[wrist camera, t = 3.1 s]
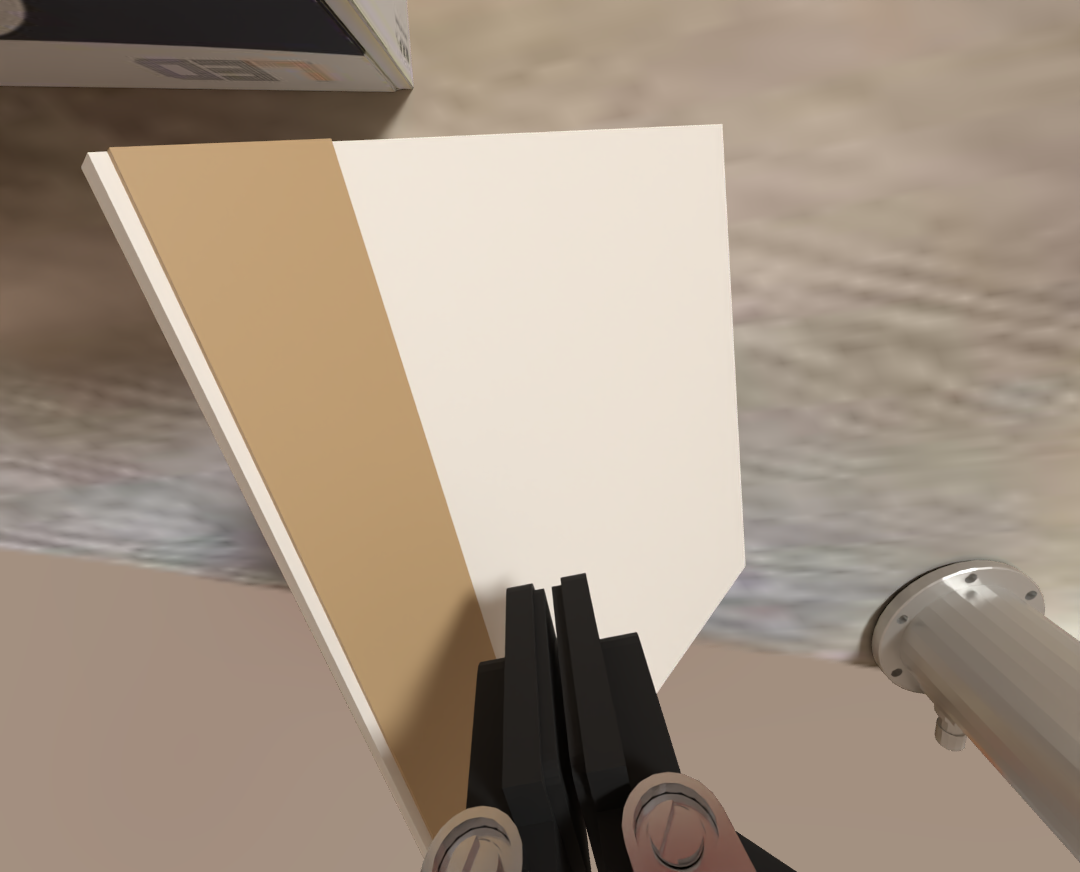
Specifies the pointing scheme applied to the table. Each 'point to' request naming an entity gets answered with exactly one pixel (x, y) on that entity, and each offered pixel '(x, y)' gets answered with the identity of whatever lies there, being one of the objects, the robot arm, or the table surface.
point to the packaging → (207, 44)
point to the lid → (456, 392)
